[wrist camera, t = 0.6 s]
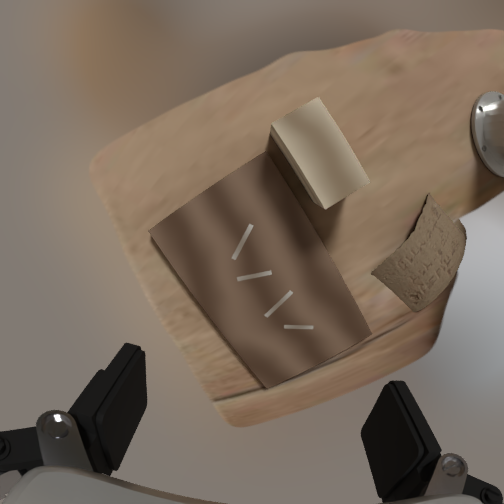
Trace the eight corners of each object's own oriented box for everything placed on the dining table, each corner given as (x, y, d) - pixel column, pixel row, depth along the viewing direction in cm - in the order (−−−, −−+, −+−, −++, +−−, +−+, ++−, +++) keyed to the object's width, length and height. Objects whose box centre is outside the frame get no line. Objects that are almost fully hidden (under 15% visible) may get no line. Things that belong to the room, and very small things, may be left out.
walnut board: (265, 152, 33) (265, 151, 31) (368, 328, 38) (372, 334, 36) (152, 228, 35) (148, 230, 34) (267, 382, 40) (266, 388, 39)
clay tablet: (427, 187, 33) (437, 189, 30) (469, 234, 34) (480, 238, 32) (362, 278, 37) (369, 285, 34) (410, 315, 38) (418, 324, 35)
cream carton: (307, 112, 31) (318, 96, 24) (348, 179, 33) (370, 182, 26) (269, 134, 32) (271, 123, 25) (312, 201, 34) (325, 209, 27)
